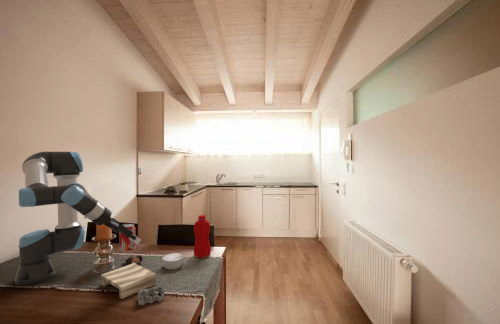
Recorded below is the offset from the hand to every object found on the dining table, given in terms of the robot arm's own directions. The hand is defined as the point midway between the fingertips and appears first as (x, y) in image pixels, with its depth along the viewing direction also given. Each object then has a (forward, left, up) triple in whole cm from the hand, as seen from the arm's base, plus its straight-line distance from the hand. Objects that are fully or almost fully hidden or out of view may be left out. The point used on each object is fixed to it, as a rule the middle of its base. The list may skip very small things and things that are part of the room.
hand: (134, 240), depth 119 cm
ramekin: (0, +22, -21) cm, 30 cm away
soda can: (0, -3, -4) cm, 5 cm away
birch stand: (0, -3, -20) cm, 21 cm away
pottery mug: (-14, +7, -21) cm, 26 cm away
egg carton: (+20, -3, -21) cm, 29 cm away
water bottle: (+1, +42, -21) cm, 47 cm away
